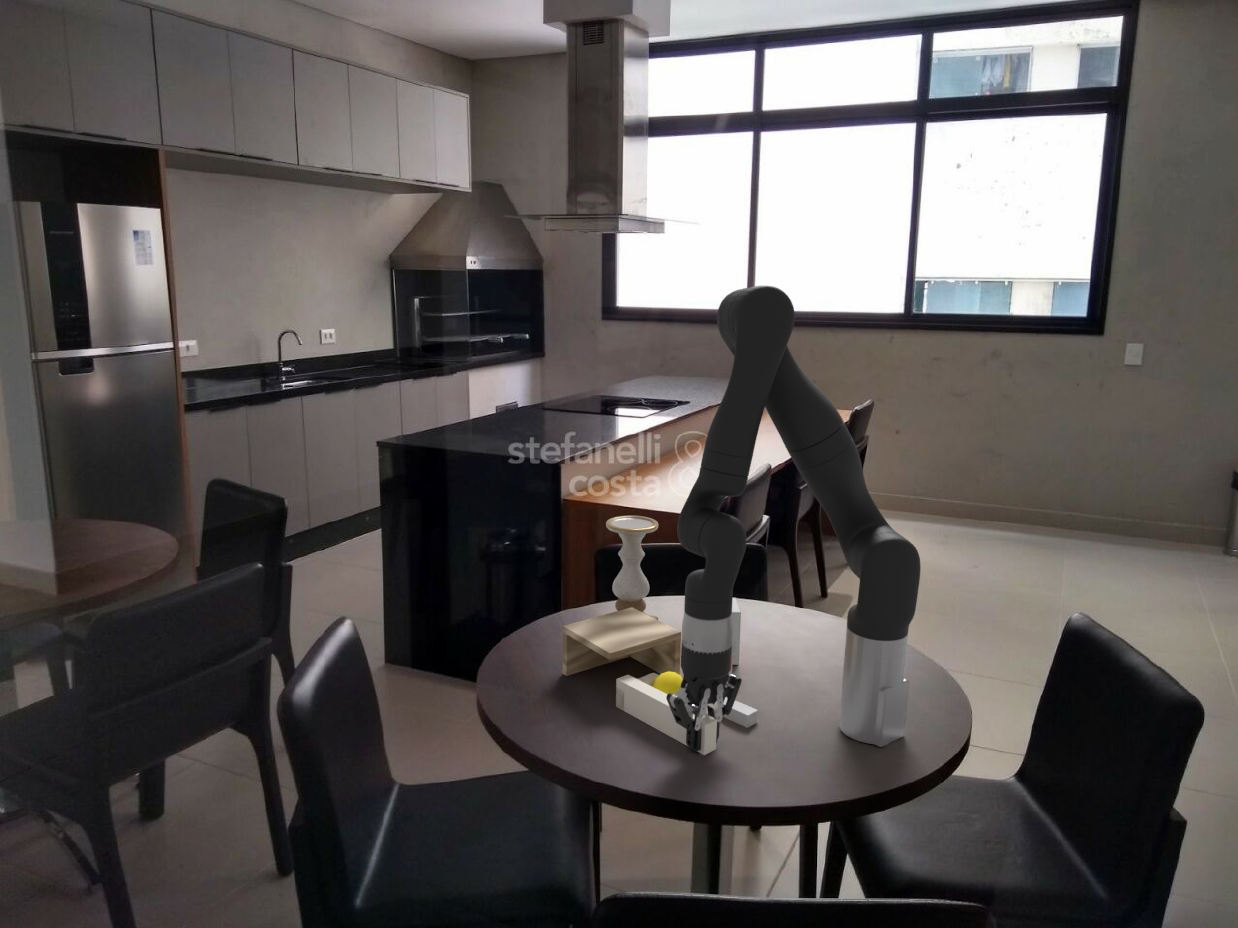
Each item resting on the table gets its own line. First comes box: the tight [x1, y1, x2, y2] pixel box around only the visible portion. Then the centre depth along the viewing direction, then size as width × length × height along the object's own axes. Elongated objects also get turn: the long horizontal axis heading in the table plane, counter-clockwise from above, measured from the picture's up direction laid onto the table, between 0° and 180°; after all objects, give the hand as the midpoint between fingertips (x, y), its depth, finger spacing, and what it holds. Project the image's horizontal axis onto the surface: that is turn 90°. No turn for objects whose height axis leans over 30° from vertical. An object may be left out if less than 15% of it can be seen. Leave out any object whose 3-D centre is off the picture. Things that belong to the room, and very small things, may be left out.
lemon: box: [653, 671, 683, 694], centre depth 149 cm, size 7×5×5 cm
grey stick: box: [685, 697, 759, 729], centre depth 147 cm, size 14×3×2 cm, turn 45°
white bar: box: [615, 672, 717, 756], centre depth 143 cm, size 20×9×5 cm, turn 42°
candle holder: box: [605, 515, 659, 621], centre depth 173 cm, size 11×11×24 cm
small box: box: [732, 597, 742, 666], centre depth 167 cm, size 8×6×10 cm
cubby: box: [562, 607, 682, 677], centre depth 157 cm, size 14×16×9 cm
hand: (702, 744), depth 135 cm, fingers closed on white bar, 3 cm apart
